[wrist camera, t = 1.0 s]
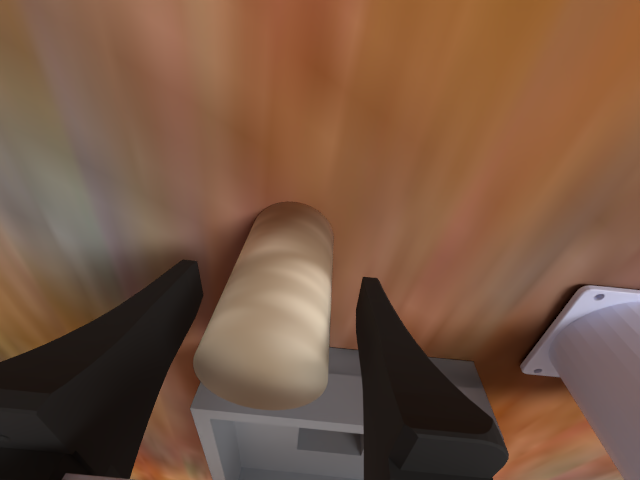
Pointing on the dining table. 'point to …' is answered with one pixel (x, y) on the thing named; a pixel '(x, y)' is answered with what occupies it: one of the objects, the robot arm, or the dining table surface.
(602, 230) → the dining table surface
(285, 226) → the peg
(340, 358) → the box
